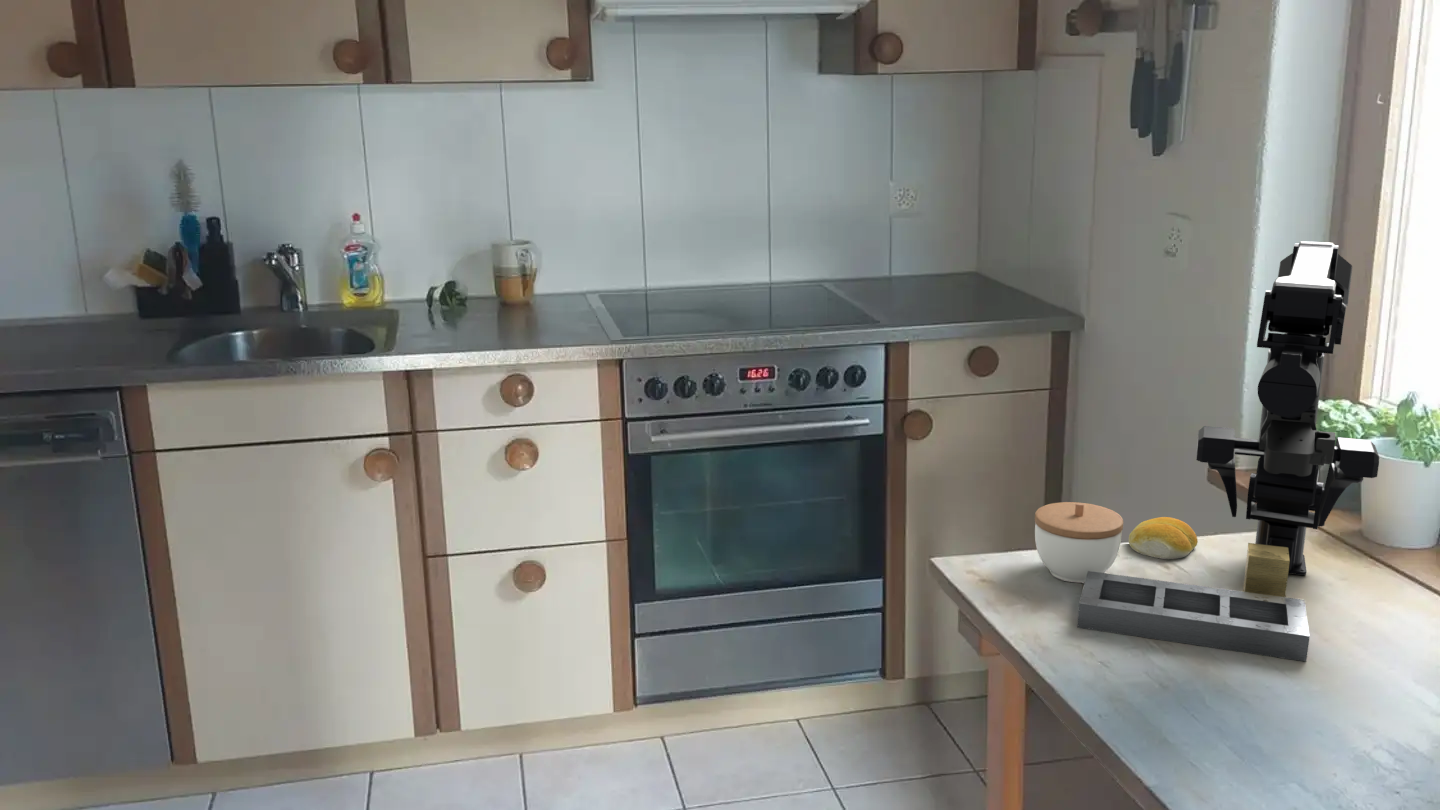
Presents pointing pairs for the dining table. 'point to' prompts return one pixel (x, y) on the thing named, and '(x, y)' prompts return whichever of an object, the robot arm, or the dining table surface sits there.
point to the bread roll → (1163, 538)
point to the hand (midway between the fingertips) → (1276, 520)
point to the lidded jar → (1077, 539)
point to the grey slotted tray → (1195, 615)
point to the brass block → (1266, 570)
